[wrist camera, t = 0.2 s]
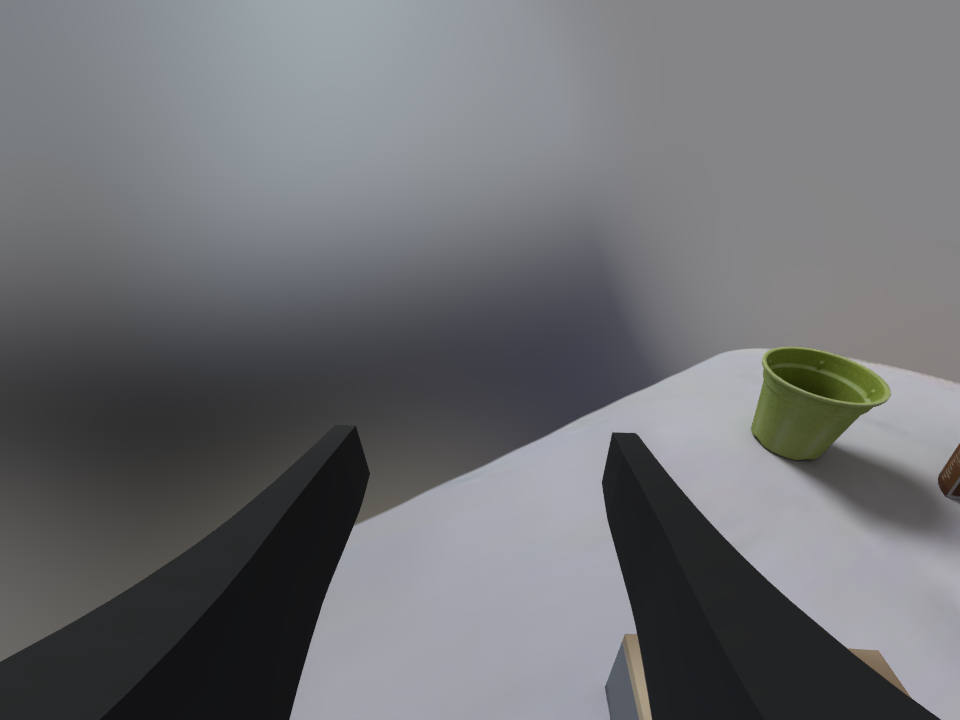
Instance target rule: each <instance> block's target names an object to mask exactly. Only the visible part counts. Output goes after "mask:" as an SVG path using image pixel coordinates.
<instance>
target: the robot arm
mask: <svg viewBox="0 0 960 720" xmlns="http://www.w3.org/2000/svg"><path fill="white" fill-rule="evenodd" d="M369 475H370V472H369V469H368V466H367V462H366V459H365V455H364V452H363V449H362V445H361V442H360V438H359V435H358V432H357V428H356V426H348V425H336V426H334V427H333V428H332V429H331V430H330V431H328V432H327V433H326V434H325V435H324V436H323V437H322V438H321V439H320V440H319V441H318V442H317V443H316V444H315V445H314V446H313V447H312V448H310V449H309V450H308V451H307V452H306V453H305V454H304V455H303V456H302V457H301V458H300V459H299V460H297V461H296V462H295V463H294V464H293V465H292V466H291V467H290V468H289V469H288V470H287V471H285V472H284V473H283V474H282V475H281V476H280V477H279V478H278V479H277V480H276V481H275V482H273V483H272V484H271V485H270V486H269V487H267V489H265V490H264V491H263V492H261V493H260V494H259V495H258V496H257V497H256V498H254V500H252V501H251V502H250V503H248V504H247V505H246V506H245V507H244V508H243V509H241V510H240V511H239V512H238V513H236V514H235V515H234V516H233V517H232V518H230V519H229V520H228V521H226V522H225V523H224V524H222V525H221V526H220V527H219V528H217V529H216V530H215V531H213V532H212V533H210V534H209V535H208V536H206V537H205V538H204V539H203V540H201V541H200V542H198V543H197V544H196V545H194V546H193V547H191V548H190V549H188V550H187V551H186V552H184V553H183V554H181V555H180V556H179V557H177V558H175V559H174V560H172V561H171V562H169V563H168V564H166V565H165V566H163V567H162V568H160V569H159V570H157V571H156V572H154V573H153V574H151V575H150V576H148V577H147V578H145V579H144V580H142V581H141V582H139V583H138V584H136V585H134V586H133V587H131V588H129V589H128V590H126V591H125V592H123V593H121V594H120V595H118V596H116V597H115V598H113V599H112V600H110V601H108V602H107V603H105V604H103V605H101V606H100V607H98V608H96V609H95V610H93V611H91V612H90V613H88V614H86V615H85V616H83V617H81V618H79V619H78V620H76V621H74V622H72V623H71V624H69V625H67V626H65V627H64V628H62V629H60V630H58V631H56V632H55V633H53V634H51V635H49V636H47V637H45V638H44V639H42V640H40V641H38V642H36V643H34V644H32V645H31V646H29V647H27V648H25V649H23V650H21V651H20V652H18V653H16V654H14V655H12V656H10V657H8V658H7V659H5V660H3V661H1V662H0V720H289V719H290V715H291V711H292V707H293V703H294V699H295V696H296V692H297V688H298V684H299V681H300V677H301V674H302V670H303V667H304V663H305V660H306V656H307V653H308V649H309V646H310V642H311V639H312V636H313V632H314V629H315V626H316V623H317V620H318V616H319V613H320V610H321V607H322V603H323V601H324V598H325V595H326V592H327V590H328V587H329V584H330V582H331V580H332V577H333V575H334V572H335V570H336V567H337V565H338V562H339V560H340V558H341V555H342V553H343V550H344V548H345V545H346V543H347V541H348V538H349V536H350V533H351V531H352V528H353V526H354V523H355V521H356V518H357V516H358V513H359V511H360V508H361V505H362V501H363V498H364V494H365V490H366V487H367V483H368V479H369ZM602 486H603V493H604V500H605V507H606V513H607V519H608V523H609V526H610V530H611V534H612V538H613V541H614V545H615V549H616V553H617V556H618V560H619V563H620V567H621V571H622V574H623V578H624V582H625V585H626V589H627V593H628V596H629V600H630V604H631V608H632V612H633V616H634V621H635V625H636V630H637V636H638V641H639V647H640V652H641V658H642V663H643V669H644V675H645V681H646V687H647V693H648V699H649V704H650V710H651V716H652V720H940V719H939V718H938V717H936V716H935V715H934V714H932V713H931V712H929V711H928V710H927V709H925V708H924V707H923V706H921V705H920V704H918V703H917V702H916V701H914V700H913V699H912V698H910V697H909V696H907V695H906V694H905V693H904V692H902V691H901V690H900V689H898V688H897V687H896V686H894V685H893V684H892V683H890V682H889V681H888V680H887V679H885V678H884V677H883V676H881V675H880V674H879V673H878V672H876V671H875V670H874V669H872V668H871V667H870V666H869V665H867V664H866V663H865V662H863V661H862V660H861V659H860V658H858V657H857V656H856V655H855V654H853V653H852V652H851V651H850V650H848V649H847V648H846V647H845V646H843V645H842V644H841V643H840V642H839V641H837V640H836V639H835V638H834V637H833V636H831V635H830V634H829V633H828V632H827V631H825V630H824V629H823V628H822V627H821V626H820V625H818V624H817V623H816V622H815V621H814V620H812V619H811V618H810V617H809V616H808V615H806V614H805V613H804V612H803V611H802V610H801V609H799V608H798V607H797V606H796V605H795V604H793V603H792V602H791V601H790V600H789V599H788V598H787V597H785V596H784V595H783V594H782V593H781V592H780V591H779V590H778V589H777V588H776V587H774V586H773V585H772V584H771V583H770V582H769V581H768V580H767V579H766V578H765V577H764V576H763V575H761V574H760V573H759V572H758V571H757V570H756V569H755V568H754V567H753V566H752V565H751V564H750V563H749V562H748V561H747V560H746V559H745V558H744V557H743V556H742V555H741V554H740V553H739V552H738V551H737V550H736V549H735V548H734V547H733V546H732V545H731V544H730V543H729V542H728V541H727V540H726V539H725V538H724V537H723V536H722V535H721V534H720V533H719V532H718V531H717V529H716V528H715V527H714V526H713V525H712V524H711V523H710V522H709V521H708V520H707V519H706V518H705V517H704V515H703V514H702V513H701V512H700V511H699V510H698V509H697V508H696V506H695V505H694V504H693V503H692V502H691V501H690V499H689V498H688V497H687V496H686V495H685V494H684V492H683V491H682V490H681V489H680V488H679V487H678V485H677V484H676V483H675V482H674V481H673V479H672V478H671V477H670V476H669V474H668V473H667V472H666V471H665V469H664V468H663V467H662V466H661V464H660V463H659V462H658V461H657V459H656V458H655V457H654V456H653V454H652V453H651V452H650V450H649V449H648V448H647V446H646V445H645V444H644V443H643V441H642V440H641V439H640V437H639V436H638V435H637V434H636V433H612V437H611V442H610V447H609V451H608V456H607V461H606V466H605V470H604V475H603V480H602Z"/></svg>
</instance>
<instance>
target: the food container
mask: <svg viewBox="0 0 960 720" xmlns="http://www.w3.org/2000/svg"><path fill="white" fill-rule="evenodd" d="M938 484H939V486H940V489H941V491H942V492H943V494H944V495H945V497H949V498H954V499H959V500H960V444H959V445H958V447H957V448H956V450H955V451H954V453H953V454H952V456H951V457H950V459H949V460H948V462H947V464H946V465H945V467H944V468H943V470H942V471H941V473H940V474H939V477H938Z"/></svg>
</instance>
